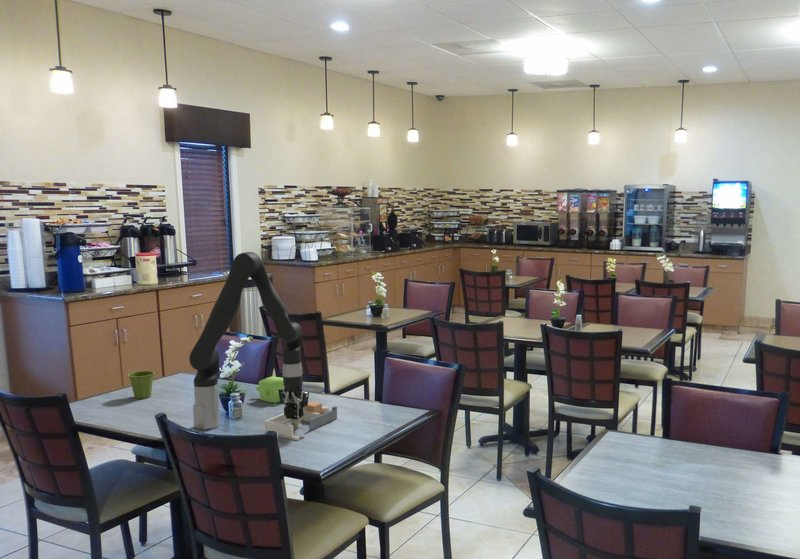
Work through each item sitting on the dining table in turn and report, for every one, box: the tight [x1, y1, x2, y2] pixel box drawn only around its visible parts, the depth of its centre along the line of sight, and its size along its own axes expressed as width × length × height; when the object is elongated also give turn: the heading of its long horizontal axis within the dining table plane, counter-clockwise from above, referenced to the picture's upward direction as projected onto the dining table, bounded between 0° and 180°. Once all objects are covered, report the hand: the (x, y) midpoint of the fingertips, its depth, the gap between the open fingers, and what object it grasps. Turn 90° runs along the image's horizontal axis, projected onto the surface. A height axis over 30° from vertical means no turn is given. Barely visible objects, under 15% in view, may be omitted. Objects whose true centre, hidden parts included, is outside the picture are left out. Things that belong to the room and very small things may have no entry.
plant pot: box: [127, 370, 156, 400], centre depth 321 cm, size 12×12×11 cm
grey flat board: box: [308, 405, 338, 431], centre depth 272 cm, size 17×1×5 cm, turn 149°
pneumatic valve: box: [283, 399, 305, 429], centre depth 269 cm, size 6×12×12 cm, turn 167°
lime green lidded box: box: [255, 376, 286, 403], centre depth 313 cm, size 18×10×10 cm, turn 54°
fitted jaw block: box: [305, 401, 323, 415], centre depth 280 cm, size 5×5×6 cm
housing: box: [264, 406, 330, 441], centre depth 273 cm, size 26×16×5 cm, turn 149°
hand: (294, 415), depth 269 cm, fingers closed on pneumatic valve, 5 cm apart
